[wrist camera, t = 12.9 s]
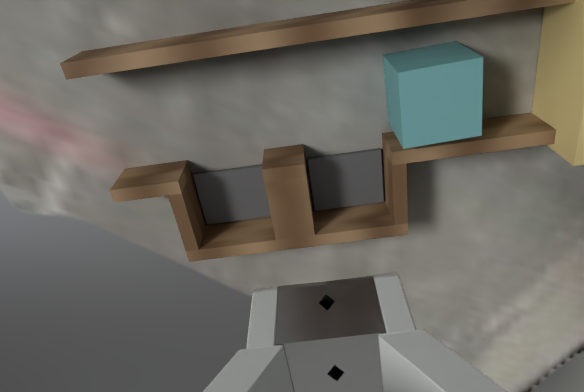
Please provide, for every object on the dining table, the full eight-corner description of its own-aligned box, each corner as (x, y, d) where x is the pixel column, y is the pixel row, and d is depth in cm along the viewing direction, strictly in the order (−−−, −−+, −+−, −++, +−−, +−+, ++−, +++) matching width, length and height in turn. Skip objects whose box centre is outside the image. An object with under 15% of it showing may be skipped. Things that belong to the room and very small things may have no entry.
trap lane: (547, -21, 29) (577, -17, 26) (522, 194, 37) (543, 217, 34) (82, 51, 31) (60, 63, 28) (151, 242, 39) (139, 267, 36)
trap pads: (380, 148, 35) (381, 149, 35) (383, 199, 37) (383, 201, 37) (193, 173, 36) (193, 175, 35) (207, 222, 38) (207, 224, 38)
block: (455, 40, 31) (483, 57, 27) (456, 110, 33) (481, 135, 29) (382, 54, 31) (397, 72, 27) (388, 122, 34) (403, 148, 30)
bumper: (588, -36, 29) (656, -31, 24) (563, 126, 34) (613, 160, 29) (548, -30, 29) (606, -24, 24) (529, 131, 34) (573, 165, 29)
